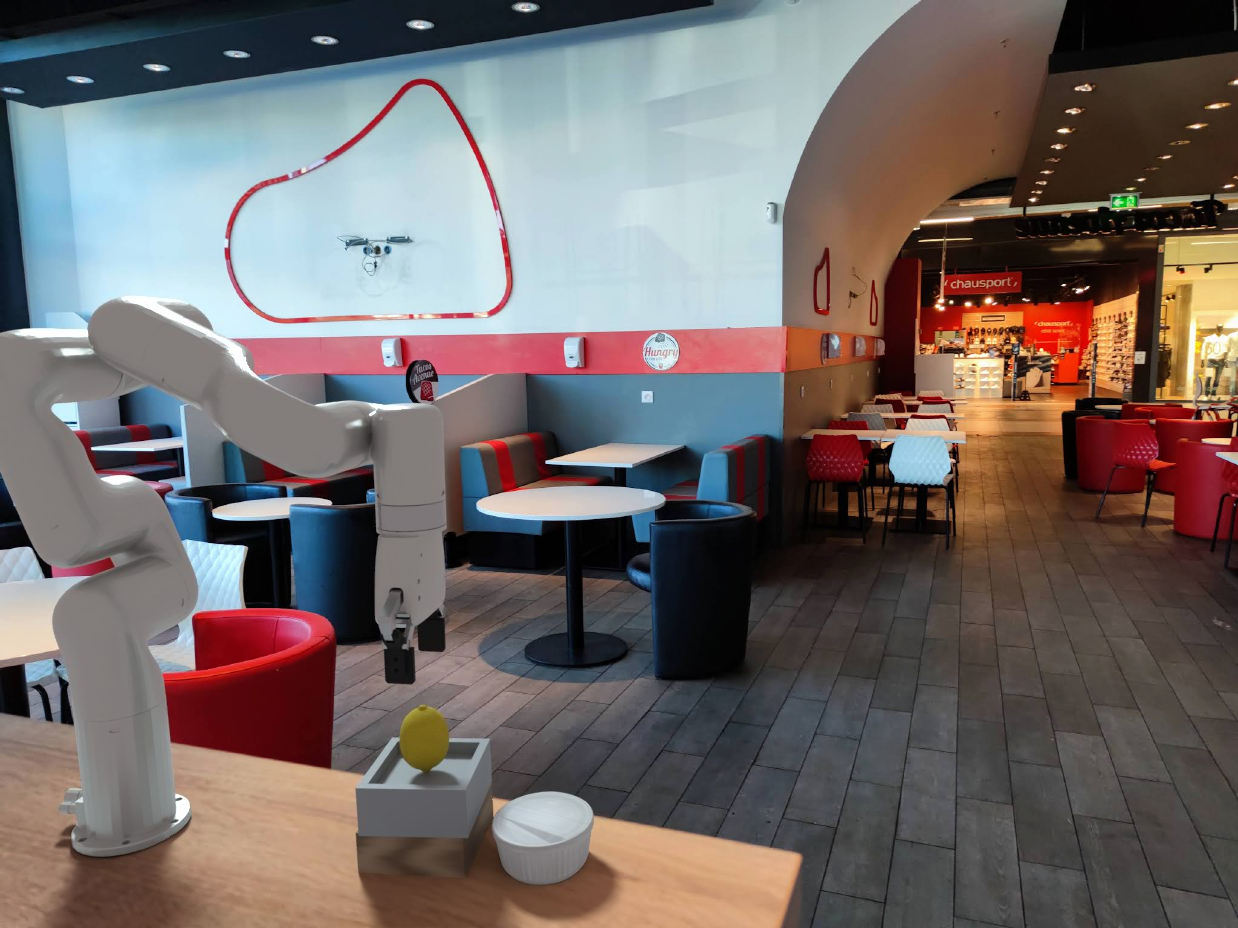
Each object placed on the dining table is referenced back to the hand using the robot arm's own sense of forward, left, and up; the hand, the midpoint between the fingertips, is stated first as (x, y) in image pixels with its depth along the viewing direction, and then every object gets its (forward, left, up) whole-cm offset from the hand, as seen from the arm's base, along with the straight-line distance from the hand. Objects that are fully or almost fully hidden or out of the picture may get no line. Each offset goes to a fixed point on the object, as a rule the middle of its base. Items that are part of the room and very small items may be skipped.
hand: (417, 665), depth 97 cm
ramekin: (+14, -2, -22) cm, 26 cm away
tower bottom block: (0, 0, -22) cm, 22 cm away
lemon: (0, 0, -13) cm, 13 cm away
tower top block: (+1, 0, -17) cm, 17 cm away
